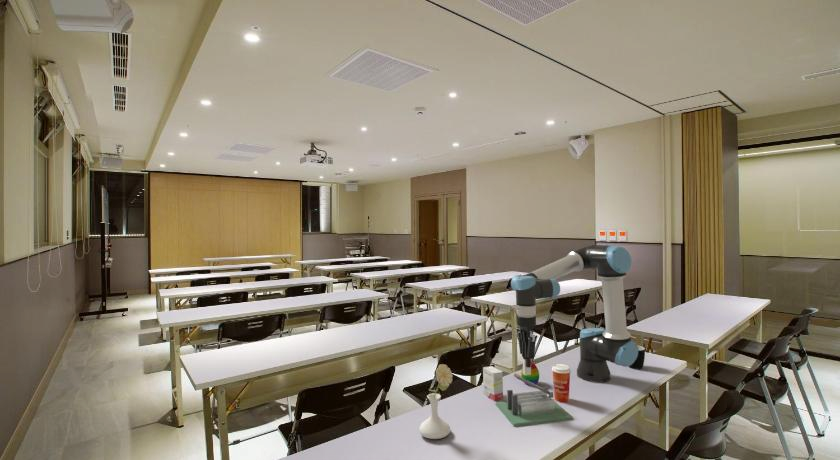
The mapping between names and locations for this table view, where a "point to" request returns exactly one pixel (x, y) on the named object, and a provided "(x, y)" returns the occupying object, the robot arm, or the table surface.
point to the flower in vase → (434, 424)
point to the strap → (531, 383)
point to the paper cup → (561, 382)
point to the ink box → (493, 383)
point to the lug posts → (512, 402)
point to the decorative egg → (532, 374)
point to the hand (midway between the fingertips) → (527, 374)
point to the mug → (639, 359)
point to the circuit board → (519, 421)
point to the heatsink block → (535, 403)
